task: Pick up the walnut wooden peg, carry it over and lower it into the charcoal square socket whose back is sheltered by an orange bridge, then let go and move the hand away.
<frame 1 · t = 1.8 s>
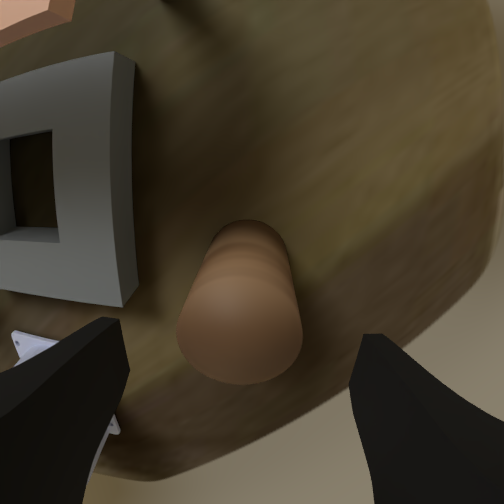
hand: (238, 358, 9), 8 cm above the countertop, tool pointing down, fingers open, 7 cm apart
peg: (247, 257, 16), on the countertop
socket: (42, 180, 15), on the countertop
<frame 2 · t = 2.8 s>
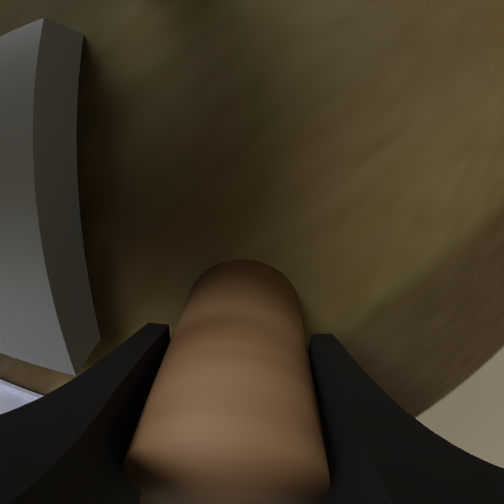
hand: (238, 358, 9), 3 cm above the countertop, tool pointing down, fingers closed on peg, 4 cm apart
peg: (243, 311, 11), on the countertop, touching gripper
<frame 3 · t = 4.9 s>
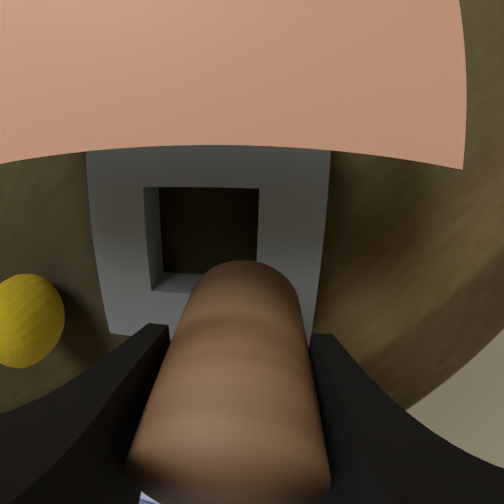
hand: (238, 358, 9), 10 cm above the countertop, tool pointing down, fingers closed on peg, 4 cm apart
peg: (243, 311, 11), point 7 cm above the countertop, touching gripper
orange bridge: (164, 68, 10), on the countertop
lemon: (54, 290, 20), on the countertop
socket: (208, 229, 18), on the countertop
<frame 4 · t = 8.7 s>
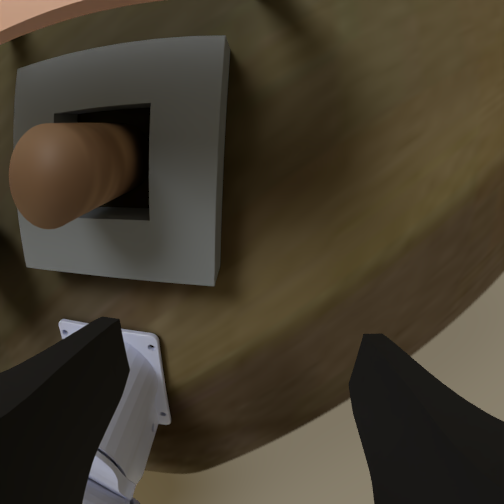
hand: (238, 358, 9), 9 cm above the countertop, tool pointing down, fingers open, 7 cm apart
peg: (118, 158, 16), resting in socket
orange bridge: (66, 2, 9), on the countertop
socket: (117, 158, 16), on the countertop
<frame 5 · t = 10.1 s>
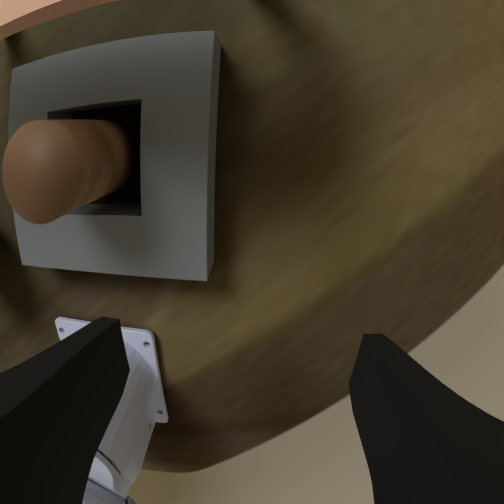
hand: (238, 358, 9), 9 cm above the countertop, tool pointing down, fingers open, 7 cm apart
peg: (111, 155, 16), resting in socket
orange bridge: (58, 1, 8), on the countertop
socket: (111, 155, 16), on the countertop
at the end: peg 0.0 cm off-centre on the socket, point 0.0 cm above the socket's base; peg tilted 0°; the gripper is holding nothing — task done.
